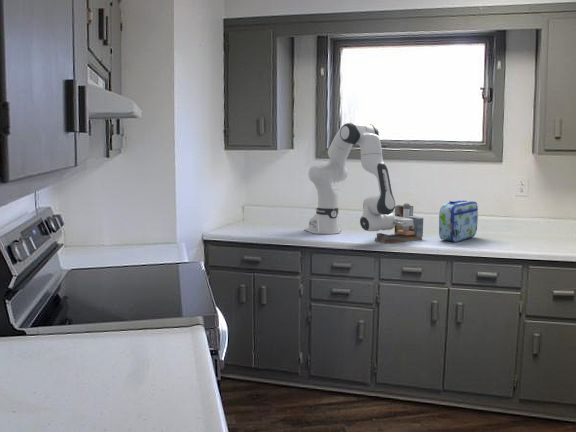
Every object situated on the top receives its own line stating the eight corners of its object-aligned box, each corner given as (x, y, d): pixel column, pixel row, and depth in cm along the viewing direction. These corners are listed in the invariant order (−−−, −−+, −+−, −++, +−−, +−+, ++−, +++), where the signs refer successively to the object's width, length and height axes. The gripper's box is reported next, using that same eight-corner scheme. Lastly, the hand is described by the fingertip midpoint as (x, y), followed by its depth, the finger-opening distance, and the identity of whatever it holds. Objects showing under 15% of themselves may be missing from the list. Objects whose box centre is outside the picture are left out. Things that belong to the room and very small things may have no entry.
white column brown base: (397, 233, 335) (397, 202, 333) (405, 232, 338) (406, 202, 336) (406, 235, 329) (407, 204, 327) (414, 234, 332) (415, 203, 330)
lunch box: (453, 243, 321) (455, 203, 318) (435, 241, 329) (437, 201, 326) (479, 237, 339) (481, 199, 336) (461, 235, 347) (463, 197, 344)
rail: (374, 240, 329) (374, 218, 327) (409, 236, 342) (410, 215, 341) (386, 243, 321) (387, 221, 319) (422, 239, 334) (423, 217, 332)
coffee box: (413, 234, 350) (414, 205, 348) (409, 236, 344) (410, 207, 342) (397, 233, 354) (398, 204, 352) (393, 234, 348) (394, 206, 346)
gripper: (401, 217, 317) (421, 215, 324) (375, 213, 334) (394, 211, 341) (401, 230, 318) (421, 227, 325) (374, 224, 335) (394, 223, 342)
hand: (407, 219), depth 333 cm, fingers closed on white column brown base, 3 cm apart
